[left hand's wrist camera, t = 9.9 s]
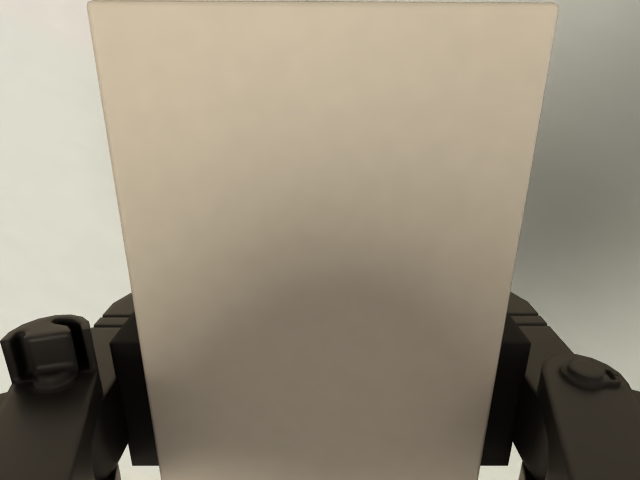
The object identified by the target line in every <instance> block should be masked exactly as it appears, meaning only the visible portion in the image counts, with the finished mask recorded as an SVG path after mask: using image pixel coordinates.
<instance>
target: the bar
mask: <svg viewBox="0 0 640 480" xmlns="http://www.w3.org/2000/svg"><path fill="white" fill-rule="evenodd" d="M87 11H88V17H89V23H90V30H91V36H92V42H93V49H94V55H95V61H96V68H97V74H98V81H99V87H100V93H101V100H102V106H103V112H104V119H105V125H106V131H107V138H108V144H109V150H110V157H111V163H112V170H113V176H114V182H115V189H116V195H117V201H118V208H119V214H120V220H121V227H122V233H123V239H124V246H125V252H126V259H127V265H128V271H129V278H130V284H131V290H132V297H133V303H134V309H135V316H136V322H137V328H138V335H139V341H140V348H141V354H142V360H143V367H144V373H145V379H146V386H147V392H148V398H149V405H150V411H151V417H152V424H153V430H154V436H155V443H156V449H157V456H158V462H159V468H160V475H161V480H478V475H479V470H480V464H481V458H482V452H483V446H484V441H485V435H486V429H487V423H488V417H489V412H490V406H491V400H492V394H493V388H494V382H495V377H496V371H497V365H498V359H499V353H500V348H501V342H502V336H503V330H504V324H505V319H506V313H507V307H508V301H509V295H510V290H511V284H512V278H513V272H514V266H515V260H516V255H517V249H518V243H519V237H520V231H521V226H522V220H523V214H524V208H525V202H526V197H527V191H528V185H529V179H530V173H531V168H532V162H533V156H534V150H535V144H536V138H537V133H538V127H539V121H540V115H541V109H542V104H543V98H544V92H545V86H546V80H547V75H548V69H549V63H550V57H551V51H552V46H553V40H554V34H555V28H556V22H557V16H558V11H559V9H558V5H556V4H554V3H502V2H338V1H175V0H92V1H90V2H88V3H87Z"/></svg>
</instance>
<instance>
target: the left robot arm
mask: <svg viewBox="0 0 640 480" xmlns="http://www.w3.org/2000/svg"><path fill="white" fill-rule="evenodd" d="M0 343H1V347H2V350H3V354H4V357H5V361H6V364H7V367H8V371H9V374H10V378H11V381H12V385H11V387H10V389H9V390H8V392H6V393H2V394H0V480H121V477H120V471H119V466H118V462H119V460H120V458H121V456H122V454H123V452H124V450H125V448H126V446H127V444H128V445H129V450H130V456H131V461H132V466H159V462H158V456H157V449H156V443H155V436H154V430H153V424H152V417H151V411H150V405H149V398H148V392H147V386H146V379H145V373H144V367H143V360H142V354H141V348H140V341H139V335H138V328H137V322H136V316H135V309H134V303H133V297H132V293H130V294H128V295H127V296H125V297H123V298H121V299H120V300H118V301H116V302H115V303H113V304H112V305H111V306H110V307H109V309H108V310H107V311H106V312H105V313H104V314H103V317H102V318H100V319H99V320H98V321H97V322H96V323H95V324H94V328H91V329H90V324H89V321H87V320H86V319H85V318H83V317H81V316H75V315H54V316H50V317H45V318H40V319H37V320H34V321H31V322H28V323H26V324H23V325H21V326H19V327H17V328H16V329H14V330H12V331H10V332H9V333H8V334H7V335H6V336H5V337H4V338H3V339H2V340H1V341H0ZM512 442H513V443H514V445H515V447H516V449H517V451H518V453H519V454H520V456H521V458H522V460H523V461H522V466H521V471H520V475H519V480H640V392H639V391H635V390H631V388H630V386H629V384H628V382H627V381H626V380H625V379H624V378H623V376H622V375H621V374H620V373H619V372H617V371H616V370H614V369H613V368H611V367H610V366H608V365H607V364H604V363H602V362H600V361H597V360H595V359H593V358H589V357H585V356H581V355H577V354H574V353H573V352H572V351H571V350H570V349H569V348H568V347H567V346H566V344H565V343H564V342H563V341H562V340H561V339H560V338H559V337H558V335H557V334H556V333H555V332H554V331H553V330H552V329H551V328H550V326H547V323H546V322H545V321H544V320H543V319H542V317H541V316H538V313H537V312H536V311H535V310H534V308H533V307H532V306H531V305H530V304H529V303H528V302H527V301H525V300H524V299H522V298H520V297H518V296H517V295H515V294H513V293H512V292H510V295H509V301H508V307H507V313H506V319H505V324H504V330H503V336H502V342H501V348H500V353H499V359H498V365H497V371H496V377H495V382H494V388H493V394H492V400H491V406H490V412H489V417H488V423H487V429H486V435H485V441H484V446H483V452H482V458H481V464H480V466H508V463H509V458H510V452H511V447H512Z"/></svg>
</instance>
